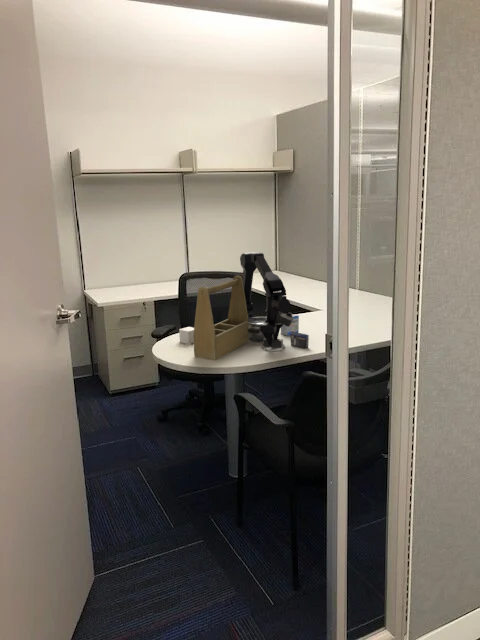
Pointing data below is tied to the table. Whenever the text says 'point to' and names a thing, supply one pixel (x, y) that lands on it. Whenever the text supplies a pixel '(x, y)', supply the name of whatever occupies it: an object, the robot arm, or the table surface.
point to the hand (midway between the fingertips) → (273, 342)
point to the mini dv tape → (299, 340)
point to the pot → (256, 329)
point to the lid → (273, 345)
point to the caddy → (225, 333)
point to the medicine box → (291, 326)
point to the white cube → (187, 335)
